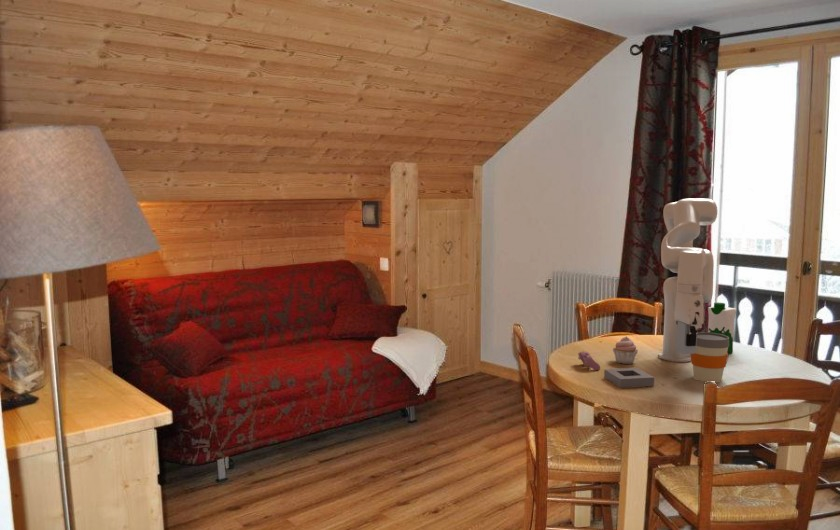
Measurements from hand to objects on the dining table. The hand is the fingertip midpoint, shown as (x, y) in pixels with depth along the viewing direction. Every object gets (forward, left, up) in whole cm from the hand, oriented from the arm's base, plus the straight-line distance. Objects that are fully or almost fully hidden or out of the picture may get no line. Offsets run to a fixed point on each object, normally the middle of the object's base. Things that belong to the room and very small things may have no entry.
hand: (686, 343), depth 223 cm
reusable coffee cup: (-15, -10, -16) cm, 23 cm away
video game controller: (+20, -31, -16) cm, 40 cm away
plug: (0, 0, -3) cm, 3 cm away
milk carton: (-42, -43, -16) cm, 62 cm away
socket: (+14, -11, -15) cm, 23 cm away
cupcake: (+3, -35, -16) cm, 38 cm away
